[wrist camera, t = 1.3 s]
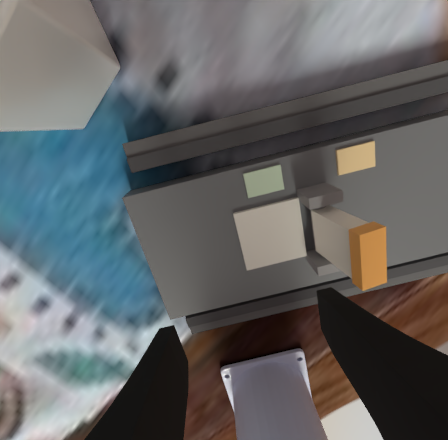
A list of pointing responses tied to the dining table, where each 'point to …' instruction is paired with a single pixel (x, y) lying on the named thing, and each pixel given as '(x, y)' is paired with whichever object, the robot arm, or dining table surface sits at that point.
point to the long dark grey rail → (288, 117)
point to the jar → (52, 64)
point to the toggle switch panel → (291, 214)
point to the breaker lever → (351, 245)
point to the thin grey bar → (311, 295)
